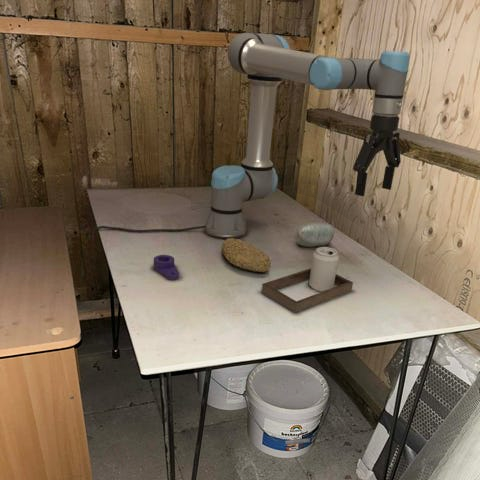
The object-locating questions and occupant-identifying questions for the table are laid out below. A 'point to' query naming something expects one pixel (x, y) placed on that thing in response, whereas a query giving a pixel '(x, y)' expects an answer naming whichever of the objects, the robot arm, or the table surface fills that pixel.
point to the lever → (166, 267)
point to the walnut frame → (296, 306)
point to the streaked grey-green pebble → (314, 234)
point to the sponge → (245, 255)
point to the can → (323, 269)
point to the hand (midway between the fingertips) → (373, 192)
